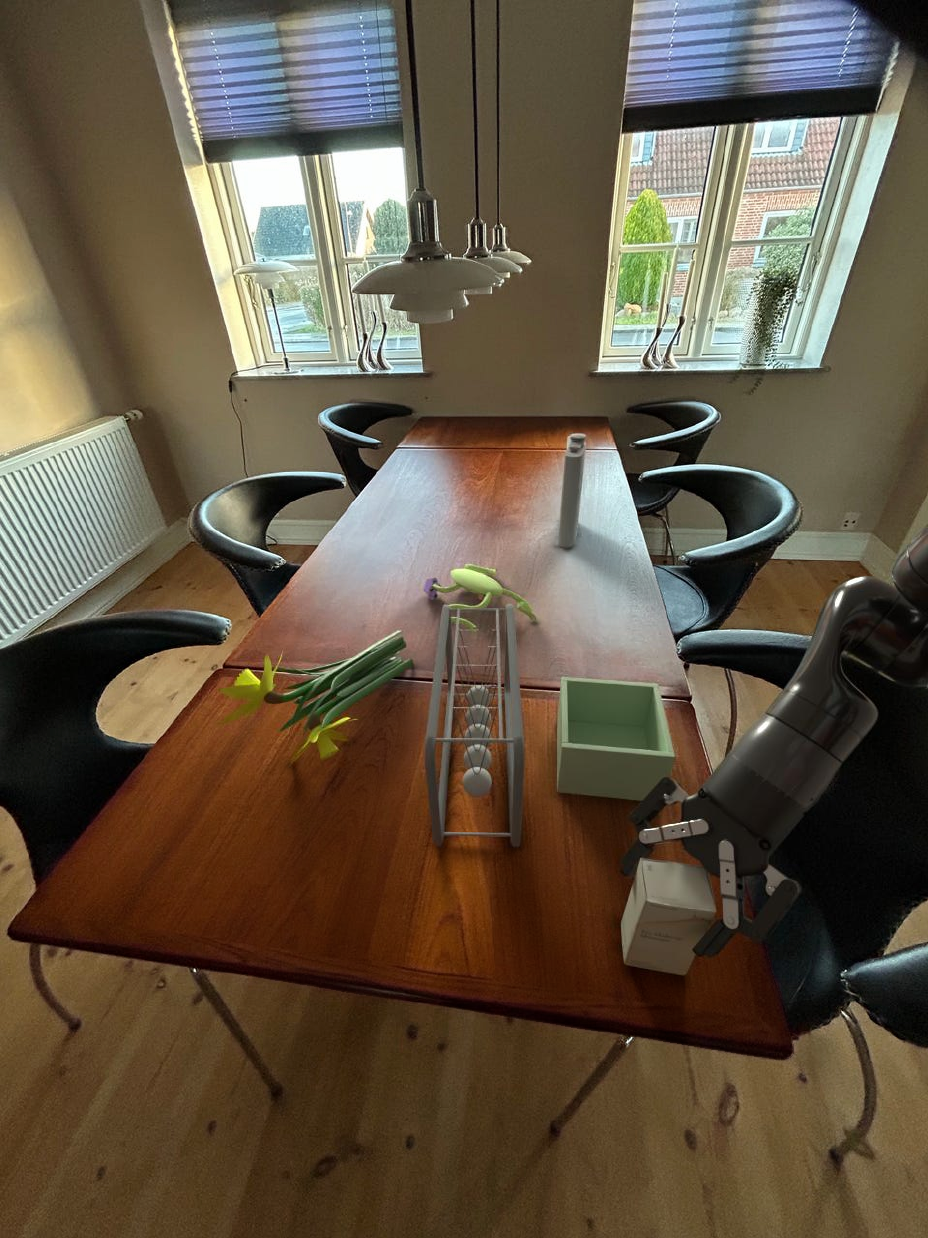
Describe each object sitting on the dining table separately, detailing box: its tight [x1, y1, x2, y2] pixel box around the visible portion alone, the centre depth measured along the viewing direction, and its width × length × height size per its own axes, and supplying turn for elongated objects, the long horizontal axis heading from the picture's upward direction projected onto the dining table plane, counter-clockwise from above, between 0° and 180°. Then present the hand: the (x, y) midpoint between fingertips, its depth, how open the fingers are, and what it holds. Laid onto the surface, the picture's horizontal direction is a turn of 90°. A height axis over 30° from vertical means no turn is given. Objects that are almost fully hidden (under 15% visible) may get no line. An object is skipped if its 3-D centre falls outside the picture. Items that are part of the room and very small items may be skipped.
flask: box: [556, 433, 587, 548], centre depth 131 cm, size 17×5×25 cm, turn 168°
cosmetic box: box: [620, 858, 717, 976], centre depth 51 cm, size 6×4×12 cm
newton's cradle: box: [424, 603, 526, 848], centre depth 71 cm, size 30×10×18 cm, turn 178°
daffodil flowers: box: [216, 629, 415, 767], centre depth 80 cm, size 17×15×35 cm
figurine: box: [423, 563, 537, 633], centre depth 109 cm, size 18×27×6 cm
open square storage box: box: [556, 676, 676, 802], centre depth 73 cm, size 14×14×9 cm
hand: (659, 912), depth 50 cm, fingers open, 8 cm apart
